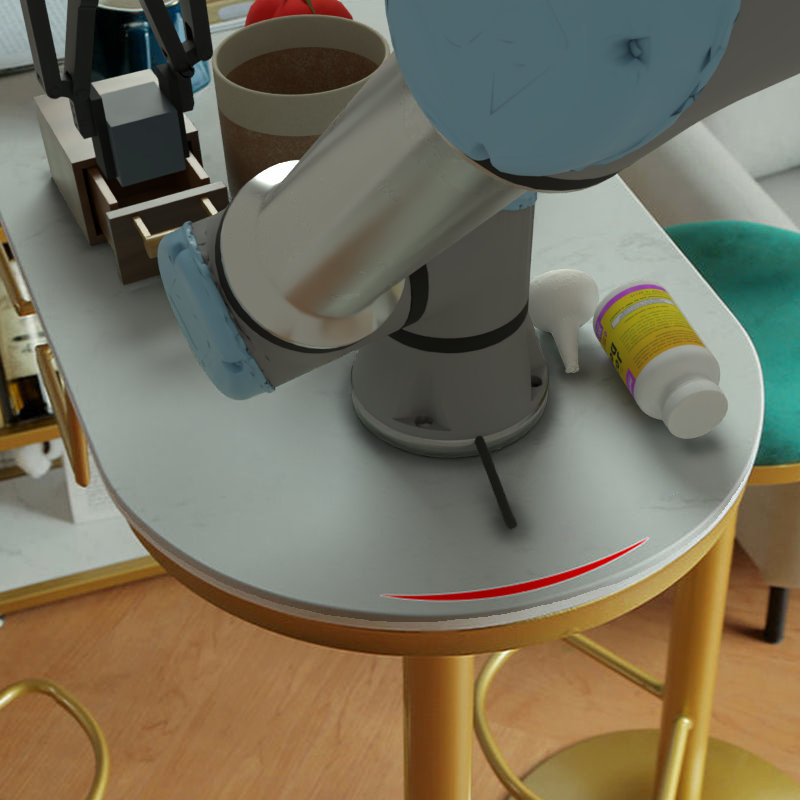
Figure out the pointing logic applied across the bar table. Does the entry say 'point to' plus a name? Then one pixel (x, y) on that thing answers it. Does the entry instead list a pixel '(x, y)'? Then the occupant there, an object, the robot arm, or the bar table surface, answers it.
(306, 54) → the planter
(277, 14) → the tomato
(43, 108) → the cabinet
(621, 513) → the bar table surface
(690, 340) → the supplement bottle
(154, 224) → the drawer
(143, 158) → the block
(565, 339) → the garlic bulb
